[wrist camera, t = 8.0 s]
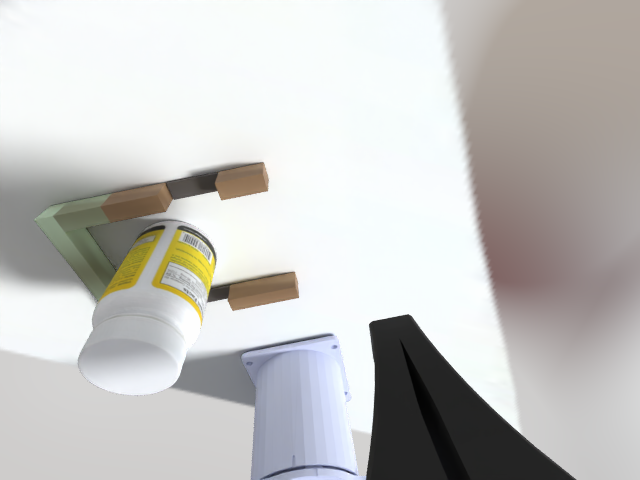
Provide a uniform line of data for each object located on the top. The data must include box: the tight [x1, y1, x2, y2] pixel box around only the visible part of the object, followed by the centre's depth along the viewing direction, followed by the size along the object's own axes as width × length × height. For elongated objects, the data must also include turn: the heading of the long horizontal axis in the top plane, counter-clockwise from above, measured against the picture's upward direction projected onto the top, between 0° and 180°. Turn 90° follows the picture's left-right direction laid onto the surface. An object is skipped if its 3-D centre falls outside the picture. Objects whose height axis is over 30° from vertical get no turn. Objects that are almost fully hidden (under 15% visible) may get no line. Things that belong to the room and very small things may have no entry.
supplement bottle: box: [78, 221, 217, 396], centre depth 17 cm, size 5×5×8 cm
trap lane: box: [34, 163, 299, 311], centre depth 20 cm, size 9×12×2 cm
